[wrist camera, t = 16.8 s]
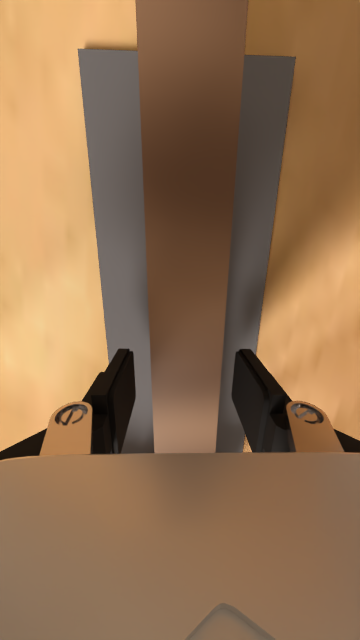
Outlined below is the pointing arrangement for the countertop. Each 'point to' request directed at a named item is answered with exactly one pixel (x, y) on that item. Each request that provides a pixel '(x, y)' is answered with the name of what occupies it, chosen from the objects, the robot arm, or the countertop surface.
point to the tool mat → (129, 219)
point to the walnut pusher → (188, 203)
